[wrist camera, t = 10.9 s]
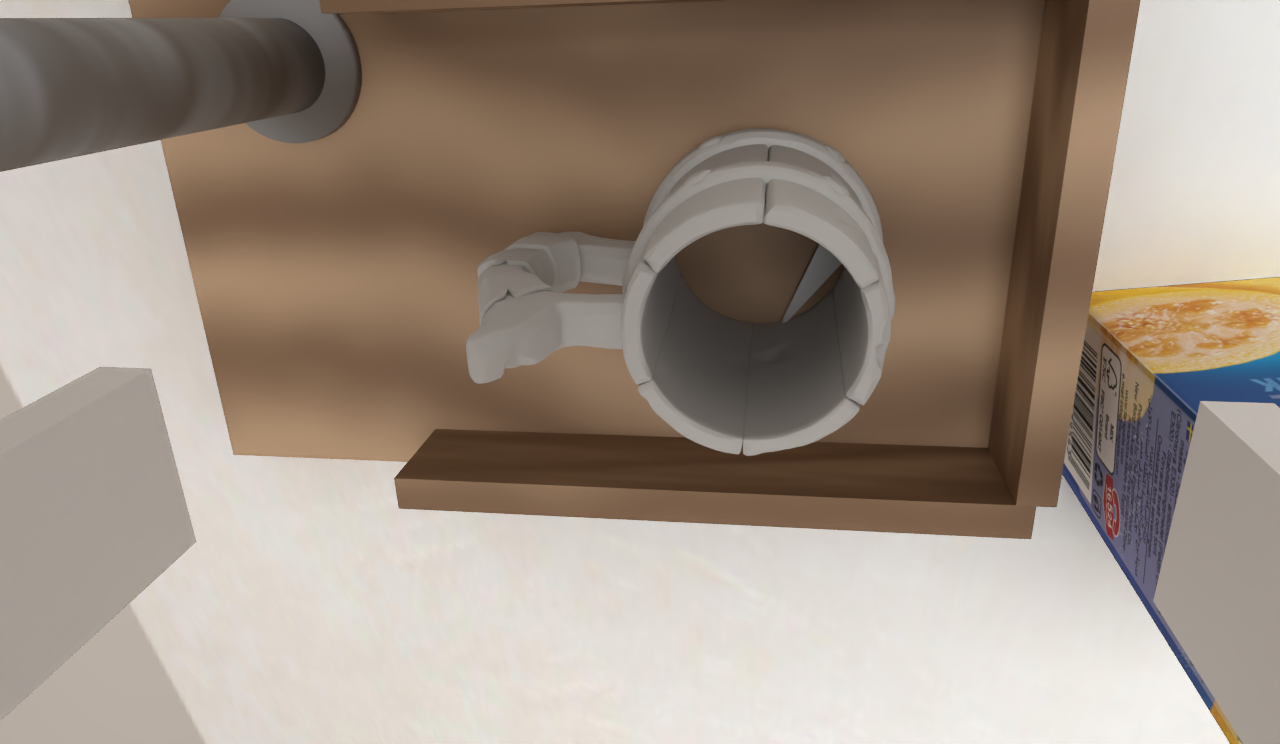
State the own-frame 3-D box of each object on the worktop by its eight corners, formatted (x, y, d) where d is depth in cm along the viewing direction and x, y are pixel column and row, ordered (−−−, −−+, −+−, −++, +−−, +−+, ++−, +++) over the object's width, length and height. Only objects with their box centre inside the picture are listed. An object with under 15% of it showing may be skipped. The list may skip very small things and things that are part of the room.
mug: (869, 348, 30) (921, 538, 19) (538, 339, 32) (413, 507, 21) (888, 121, 28) (961, 191, 16) (523, 123, 29) (369, 189, 18)
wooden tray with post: (146, -24, 30) (-536, -67, 15) (1096, -69, 26) (1594, -202, 10) (249, 441, 37) (-142, 756, 21) (1018, 470, 33) (1243, 897, 17)
